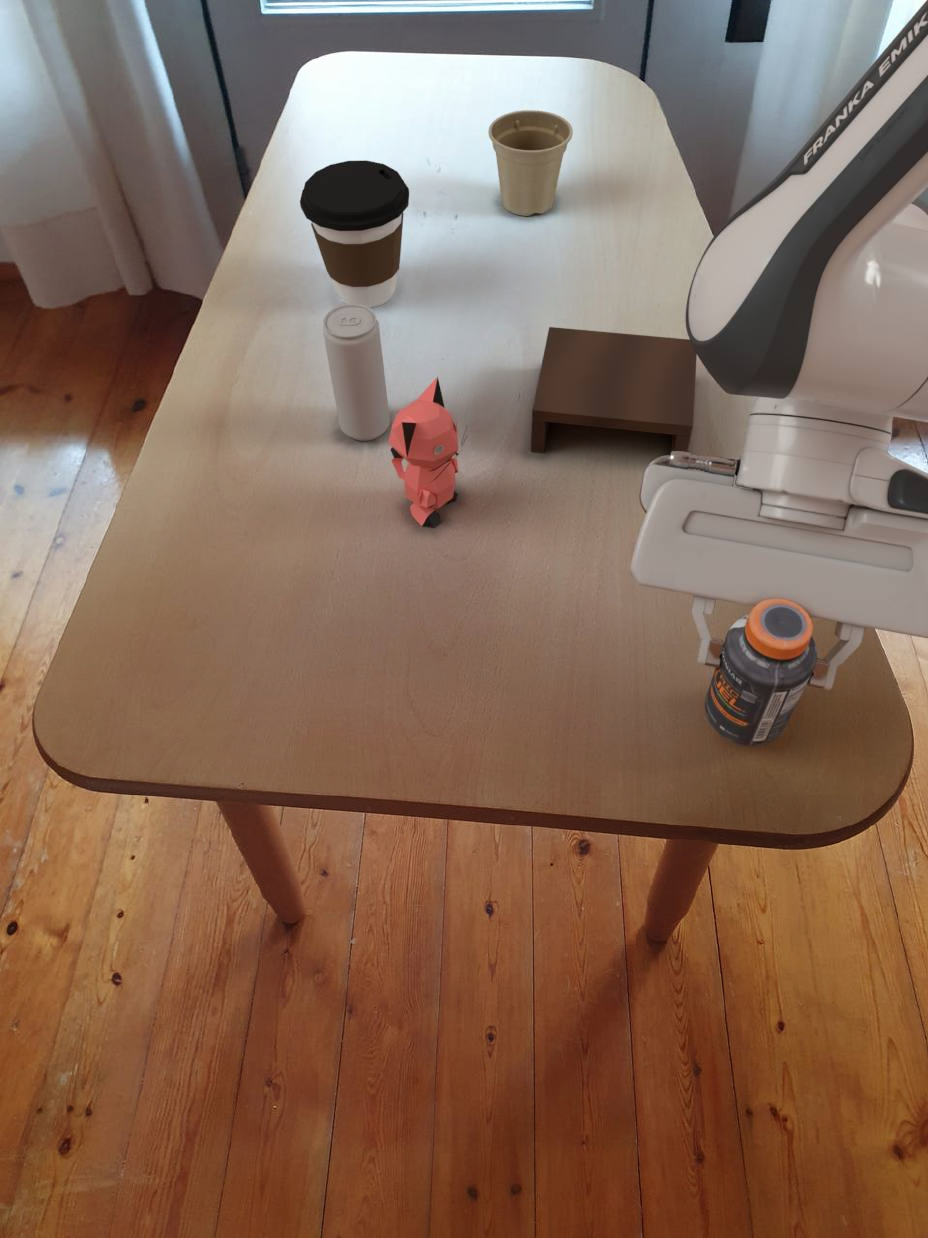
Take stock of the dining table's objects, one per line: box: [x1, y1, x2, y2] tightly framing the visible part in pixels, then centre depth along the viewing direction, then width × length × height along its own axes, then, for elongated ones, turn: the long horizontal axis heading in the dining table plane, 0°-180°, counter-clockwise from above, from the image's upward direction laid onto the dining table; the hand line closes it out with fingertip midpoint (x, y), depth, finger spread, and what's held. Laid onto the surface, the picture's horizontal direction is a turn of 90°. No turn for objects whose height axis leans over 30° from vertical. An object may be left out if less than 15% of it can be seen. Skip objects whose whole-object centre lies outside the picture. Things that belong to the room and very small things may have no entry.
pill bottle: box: [704, 599, 818, 747], centre depth 64 cm, size 6×6×11 cm
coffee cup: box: [299, 160, 410, 309], centre depth 98 cm, size 11×11×12 cm
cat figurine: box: [388, 376, 468, 529], centre depth 79 cm, size 7×7×12 cm
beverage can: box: [322, 303, 391, 442], centre depth 85 cm, size 5×5×12 cm
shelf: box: [530, 326, 698, 454], centre depth 88 cm, size 14×12×5 cm
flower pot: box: [488, 109, 574, 217], centre depth 109 cm, size 9×9×9 cm
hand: (762, 675), depth 64 cm, fingers closed on pill bottle, 6 cm apart
